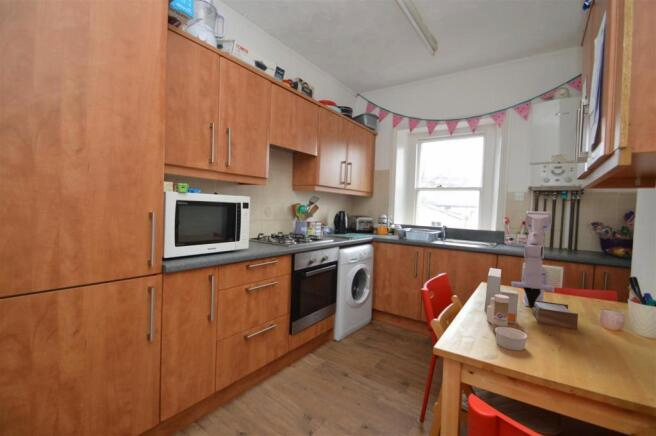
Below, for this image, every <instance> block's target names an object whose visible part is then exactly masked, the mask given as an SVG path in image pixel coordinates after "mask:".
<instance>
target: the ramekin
mask: <svg viewBox="0 0 656 436" xmlns="http://www.w3.org/2000/svg"><path fill="white" fill-rule="evenodd" d="M495 332H496V333H495V341H496V343H497V344H498V345H499V346H500V347H502V348H503V349H506V350H507V349H508V350H512V351H515V352H516V351H518V352H519V351H523V350H525V348H526V345H527V344H526V343H527V339H528V334H527V333H525V332H523V331H521V330H519V329H517V328H513V327H509V326H507V327H497V328H495Z"/></svg>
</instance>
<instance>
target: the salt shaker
mask: <svg viewBox="0 0 656 436" xmlns="http://www.w3.org/2000/svg"><path fill="white" fill-rule="evenodd" d="M490 303H491V305H490V306H488V307H487V311H486V321H487V322H488V323H490V324H492V325H493V319H494V305H495V300H494V298H491V301H490Z"/></svg>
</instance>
